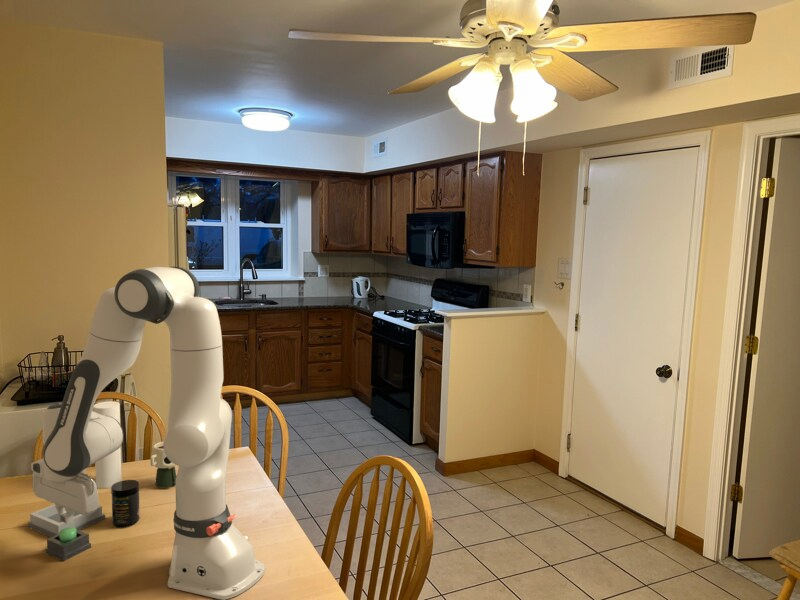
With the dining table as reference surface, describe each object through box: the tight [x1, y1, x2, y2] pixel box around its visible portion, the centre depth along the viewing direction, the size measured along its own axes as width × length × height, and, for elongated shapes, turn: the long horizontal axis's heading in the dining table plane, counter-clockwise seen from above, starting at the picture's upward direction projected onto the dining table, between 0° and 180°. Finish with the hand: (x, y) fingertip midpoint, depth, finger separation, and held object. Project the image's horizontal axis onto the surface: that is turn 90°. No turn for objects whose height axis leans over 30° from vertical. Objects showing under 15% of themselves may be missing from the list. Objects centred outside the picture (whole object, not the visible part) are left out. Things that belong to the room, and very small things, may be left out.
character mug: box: [149, 440, 177, 489], centre depth 176 cm, size 11×7×13 cm, turn 153°
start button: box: [59, 527, 77, 543], centre depth 139 cm, size 4×4×2 cm
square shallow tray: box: [26, 503, 106, 538], centre depth 152 cm, size 13×13×4 cm
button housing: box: [44, 529, 92, 562], centre depth 139 cm, size 7×7×4 cm
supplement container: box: [110, 479, 141, 528], centre depth 153 cm, size 7×7×10 cm
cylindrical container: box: [93, 401, 123, 489], centre depth 175 cm, size 7×7×25 cm
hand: (66, 521), depth 139 cm, fingers closed
